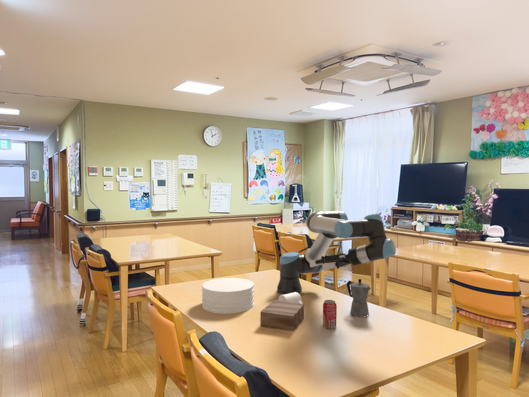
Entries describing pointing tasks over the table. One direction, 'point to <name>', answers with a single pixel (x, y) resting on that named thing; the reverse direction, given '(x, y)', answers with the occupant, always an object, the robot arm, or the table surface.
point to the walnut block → (282, 315)
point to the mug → (291, 298)
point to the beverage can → (329, 314)
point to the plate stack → (228, 295)
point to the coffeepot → (358, 298)
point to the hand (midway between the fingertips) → (316, 265)
